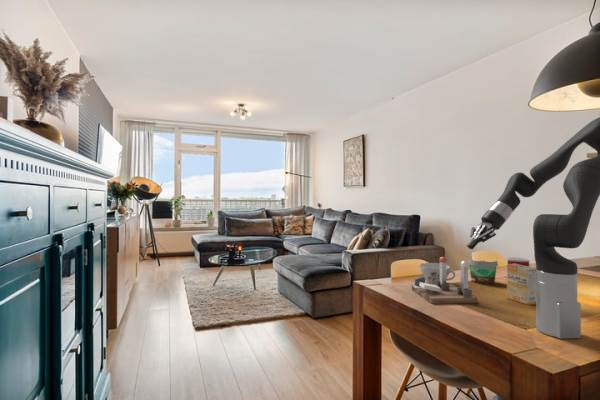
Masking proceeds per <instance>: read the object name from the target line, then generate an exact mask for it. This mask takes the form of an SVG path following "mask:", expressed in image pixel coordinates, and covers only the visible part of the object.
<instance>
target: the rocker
mask: <svg viewBox="0 0 600 400" xmlns="http://www.w3.org/2000/svg"><path fill="white" fill-rule="evenodd" d="M419 286H421V287H422V288H424V289H428V290H433V291H438V292H440V290H441V288H440V287H438V286H436V285H432V284H430V283H428V282H425V283H422V282H420V284H419Z"/></svg>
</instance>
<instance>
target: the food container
mask: <svg viewBox="0 0 600 400" xmlns="http://www.w3.org/2000/svg"><path fill="white" fill-rule="evenodd" d="M467 263H468V267H469V274H470V281H471V282H472V283H475V284H479V285H494V284H495V281H496V273H497V267H499V263H498V260H497V259H496V260H494V261H486V260H472V259H468V261H467Z"/></svg>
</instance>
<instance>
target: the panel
mask: <svg viewBox="0 0 600 400" xmlns="http://www.w3.org/2000/svg"><path fill="white" fill-rule="evenodd" d="M409 285H410V286H411V290H412V291H413V292H414V291H415V292H414V293H416V294H417V295H419V297H421V298H423V299H424V300H426V302H428V303H430V304H431V305H436V304H437V305H440V304H441V305H442V304H446V305H447V304H478V300H479V299H478V297H477V296H475V295H474V294H472V289H468V290H463V294H461V286H456V285H454V284H453V283H448V282H446V283H441V287H440V281H437V284H432V285H436V286H438V287H440V288H441V290H440V292H438V291H433V290H428V289H424V288H422V287H421V286H417V285H415V283H409Z"/></svg>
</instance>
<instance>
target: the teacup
mask: <svg viewBox="0 0 600 400" xmlns="http://www.w3.org/2000/svg"><path fill="white" fill-rule="evenodd" d="M419 269H420V272H421V277H425V282H426V283H427V284H437V281H440V262H425V263H423V262H422V263H420V264H419ZM449 274H453V276H452V277H449V278H448V276H449ZM455 277H456V272H455V271H454V270H453V269H451V267H450V265H448V264H446V281H452V280H453V279H455Z"/></svg>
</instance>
